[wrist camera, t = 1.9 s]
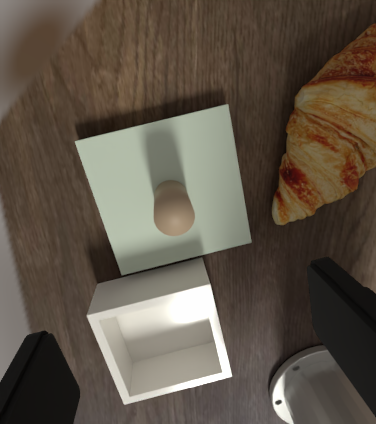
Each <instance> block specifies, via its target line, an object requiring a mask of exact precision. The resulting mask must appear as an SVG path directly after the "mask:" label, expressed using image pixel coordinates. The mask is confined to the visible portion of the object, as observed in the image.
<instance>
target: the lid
mask: <svg viewBox="0 0 376 424" xmlns="http://www.w3.org/2000/svg"><path fill="white" fill-rule="evenodd" d="M75 144H76V147H77V149H78V152H79V155H80V158H81V161H82V164H83V166H84V169H85V172H86V175H87V178H88V181H89V184H90V186H91V189H92V192H93V195H94V198H95V201H96V203H97V206H98V209H99V212H100V215H101V218H102V221H103V223H104V226H105V229H106V232H107V235H108V238H109V241H110V243H111V246H112V249H113V252H114V255H115V258H116V260H117V263H118V266H119V269H120V272H121V275H125V274H129V273H133V272H137V271H141V270H145V269H149V268H153V267H157V266H161V265H165V264H169V263H173V262H177V261H181V260H185V259H188V258H192V257H196V256H200V255H204V254H208V253H212V252H216V251H220V250H224V249H228V248H232V247H236V246H240V245H244V244H248V243H252V241H251V236H250V230H249V224H248V218H247V212H246V206H245V200H244V194H243V188H242V183H241V177H240V171H239V165H238V159H237V153H236V147H235V141H234V136H233V130H232V124H231V118H230V112H229V106H228V104H225V105H221V106H217V107H213V108H209V109H205V110H201V111H197V112H192V113H188V114H184V115H180V116H176V117H172V118H168V119H164V120H160V121H155V122H151V123H147V124H143V125H139V126H135V127H131V128H127V129H122V130H118V131H114V132H110V133H106V134H102V135H98V136H94V137H90V138H85V139H81V140H77V141H75Z"/></svg>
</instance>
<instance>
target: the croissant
mask: <svg viewBox="0 0 376 424" xmlns="http://www.w3.org/2000/svg"><path fill="white" fill-rule="evenodd" d="M294 108H295V109H294V111H293V112H292V113H291V115H290V117H289V121H288V124H287V126H286V132H287V133H288V136H287V141H286V143H287V145H286V146H287V147H286V153H285V154H284V155H283V156H282V162H281V166H280V168H279V187H278V188H277V191H276V192H275V194H274V199H273V204H272V217H273V219H274V221H275V223H276V224H278V225H285V224H286V223H287V222H290V221H292V222H294V221H295V220H297V219H300V220H302V219H304V218H306V216H312V215H314V214H315V211H316V209H317V208H319V207H321V206H322V205H323V204H325V203H326V204H328V203H332V202H333V201H336V200H338V199H343V198H344V197H345V196H346V194H349V193H350V192H353V191H354V190H357V187H358V183H359V178H360V177H362V176H363V175H364V174H365V171H368V170H370V169H373V168H375V167H376V23H374V24H372V25H371V26H369V27H368V28H367V29H366V30H365V31H364V32H363V33H362V34H361V35H359V36H358V37H357V38H356V40H354V41H353V42H351V43H349V44H348V45H347V46H346V47H345V48H344V49H343V50H342V51H341V52H340V53H338V54H336V55H334V56H333V57H332V58H331V59H330V60H329V61H328V62H327V63H326V64H325V65H324V67H323V68H322V69H321V70H320V71H319V72H318V73H317V75H316V76H315V77H314V78H313V79H312V80H311V81H310V82H308V83H307V84H305V85H304V86H303V87H302V88H301V89H300V91H299V92H298V94H297V95H296V96H295V106H294Z"/></svg>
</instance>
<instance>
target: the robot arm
mask: <svg viewBox="0 0 376 424" xmlns="http://www.w3.org/2000/svg"><path fill="white" fill-rule="evenodd" d="M307 274H308V284H309V294H310V303H311V313H312V322H313V328H314V330H315V332H316V334H317V336H318V337H319V339H320V340H321V342H322V343H323V344H324V345H320V346H315V347H311V348H308V349H305V350H303V351H301V352H299V353H297V354H295V355H294V356H292V357H291V358H289V359H288V360H287V361H286V362H284V363H283V365H282V366H281V367H280V368H279V369H278V370H277V372H276V373H275V375H274V377H273V379H272V381H271V384H270V390H269V395H270V400H271V403H272V406H273V408H274V410H275V412H276V414H277V415H278V416H279V417H280V418H281V419H283V420H284V421H286V422H287V423H290V424H376V294H375V293H374V292H373V291H372V290H370V289H369V288H367V287H363V286H362V285H361V284H360V283H359V282H357V281H356V280H355V279H354V278H353V277H352V276H350V275H349V274H348V273H347V272H346V271H345V270H343V269H342V268H341V267H340V266H339V265H338V264H336V263H335V262H334V261H333V260H332V259H331V258H329V257H324V258H320V259H317V260H313V261H311V265H310V266H308V267H307ZM79 399H80V389H79V386H78V384H77V382H76V380H75V378H74V376H73V374H72V372H71V370H70V368H69V366H68V364H67V362H66V360H65V357H64V355H63V353H62V351H61V349H60V347H59V345H58V343H57V341H56V339H55V337H54V335H53V334H51V333H50V334H48V332H47V331H41V332H37V333H33V334H29V335H27V336H26V338H25V339H24V341H23V343H22V345H21V346H20V348H19V350H18V352H17V354H16V355H15V357H14V359H13V361H12V362H11V364H10V366H9V368H8V369H7V371H6V373H5V375H4V376H3V378H2V380H1V382H0V424H73V422H74V418H75V414H76V410H77V407H78V403H79Z"/></svg>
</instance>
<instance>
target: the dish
mask: <svg viewBox="0 0 376 424" xmlns="http://www.w3.org/2000/svg"><path fill="white" fill-rule="evenodd" d="M87 317H88V320H89V322H90V325H91V327H92V329H93V332H94V334H95V336H96V339H97V341H98V344H99V346H100V348H101V351H102V353H103V356H104V358H105V360H106V363H107V365H108V367H109V370H110V372H111V375H112V377H113V379H114V382H115V384H116V386H117V389H118V391H119V394H120V396H121V398H122V401H123V403H124V405H125V404H129V403H132V402H136V401H140V400H144V399H148V398H152V397H155V396H159V395H163V394H167V393H171V392H174V391H178V390H182V389H186V388H190V387H194V386H197V385H201V384H205V383H209V382H213V381H216V380H220V379H224V378H228V377H232V374H231V370H230V365H229V361H228V357H227V353H226V348H225V344H224V340H223V336H222V331H221V327H220V323H219V319H218V314H217V310H216V306H215V302H214V297H213V293H212V289H211V285H210V281H209V278H208V275H207V272H206V268H205V265H204V262H203V259H202V257H201V258H197V259H193V260H189V261H185V262H181V263H177V264H174V265H170V266H166V267H162V268H158V269H154V270H150V271H146V272H142V273H138V274H134V275H130V276H126V277H122V278H118V279H114V280H110V281H106V282H102V283H98V284H97V287H96V290H95V293H94V295H93V298H92V301H91V304H90V307H89V310H88V313H87Z"/></svg>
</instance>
